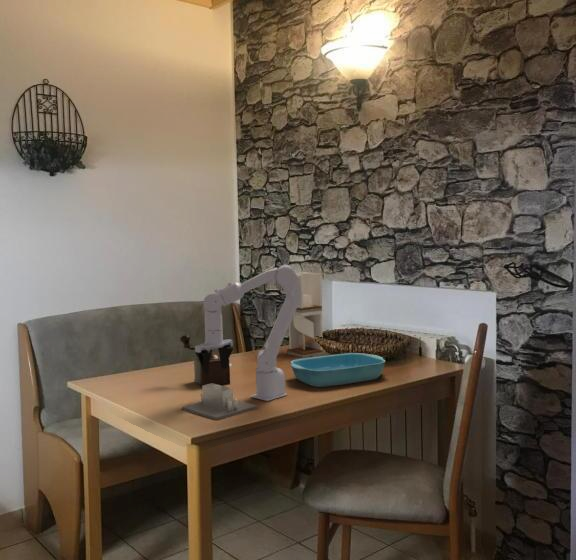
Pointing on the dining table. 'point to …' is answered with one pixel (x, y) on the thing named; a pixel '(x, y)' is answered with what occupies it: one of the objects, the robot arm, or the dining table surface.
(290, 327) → the cream table lamp
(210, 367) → the brown wooden grinder
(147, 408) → the dining table surface
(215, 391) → the block
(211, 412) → the dock
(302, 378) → the casserole dish
